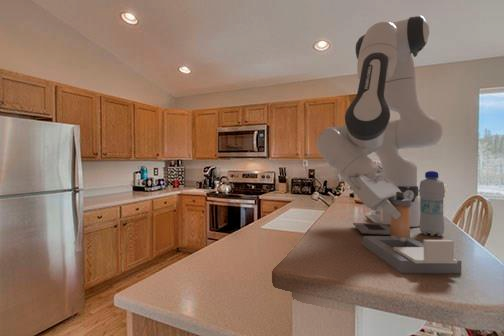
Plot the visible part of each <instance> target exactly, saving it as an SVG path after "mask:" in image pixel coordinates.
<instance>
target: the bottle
mask: <svg viewBox="0 0 504 336" xmlns="http://www.w3.org/2000/svg"><path fill="white" fill-rule="evenodd" d="M424 177H425V179H423V180H420V182H419V183H420V184H419V187H418V190H419V192H418V196H419V198H420V226H419V230H420V231H419V232H420V233H421V234H423V235H425V236H428V235H429V234H430V236H431V237H434V236H435V235H436V237H440V236H443V234H444V232H445V222H444V221H445V219H444V198H445V197H446V195H445V193H446V191H445V183H444V181H442V180H440V179H439V173H438V171H433V170H428V171H426V172H425V173H424Z"/></svg>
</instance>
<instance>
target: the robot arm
mask: <svg viewBox="0 0 504 336" xmlns="http://www.w3.org/2000/svg"><path fill="white" fill-rule="evenodd" d="M429 36H430V26H429V23H428V21H427V20H426V18H425V17H424V16H422V15H415V16H410V17H408V18H407V19H401V20H398V21H395V22H389V21H380V22H379V21H378V22H376V23H374V24H373V25H371V26H370V27H369V28H368V29H367V30H366V32H365V34H364V35H362V36H360V37H359V38H358V40H357V41H356V44H355V57H356V59H357V62H356V63H357V69H356V70H357V71H356V72H357V78H358V80H359V83H358V87H357V88H358V89H357V92H356V95H355V97H354V99H353V101H352V102H351V103H350V104H349V106H348V107H347V109H346V111H345V114H344V122H345V123H344V125H340V126H328V127H326V128H325V129H324V130H322V132H321V133H320V134H319V135H318V137H317V140H316V149H317V151H318V153H319V155H320V156H321V158H323V159H324V160H325V162H326V163H327V164H328V165H329V166H330V167H331V168H332V169H335V170H336V172H337V173H338V175H339V177H340V178H341V179H342V180H343V181H344V182H345V183H346V184H347V185H348V186H349V187H350V189H351V190H352V193H354V194H355V196H357V198H358V199H359V200H360V202H362V204H363V205H364V206H365V207H367V208H368V209H370V210H371V212H368V213H366V214H365V216H366V217H367V219H369V220H370V221H372V223H374V224H386V225H387V226H390V214H391V215H392V216H393V217H394V218H395V219H398V218H399V217H400V216H402V212H400V210H399V209H398V208H397V209H396V208H395V207H394V206H393V205H392V204H391V202H390V201H389V199H390V198H396V192H404V199H409V200H412V205H411V206H410V228H411V227H412V228H415V227H420V200H419V198H418V196H419V186H418V166H417V164H416V163H415V162H414V161H412V160H411V159H408V158H406V157H404V156H401V155H400V153H399V150H401V149H402V150H404V149H407V150H408V149H422V148H425V147H427V148H428V147H430V146H431V147H432V146H435V145H436V144H438V142H439V141H441V138H442V136H443V127H442V124H441V123H440V121H439V120H438V119H436V118H435V117H433V116H431V115H430V114H428V113H427V112H425V110H424V109H423V108H422V107H421V105H420V104H419V100H418V96H417V86H416V67H415V62H414V59H413V57H414V58H416V57H417V56H418V54H419V52H421V51H422V50H423V49H424V47H426V45H427V43H428V40H429ZM390 111H391V112H396V113H398V115H399V117H400V119H393V120H390V119H391V118H390V117H391V112H390ZM372 153H374V154H376V156H377V157H378V159H379V161H380V164H381V166H380V165H378V164H376V163H375V162H374V161H373V160H372V159H371V158H370V157H369V155H370V154H372Z"/></svg>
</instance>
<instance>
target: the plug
mask: <svg viewBox="0 0 504 336" xmlns="http://www.w3.org/2000/svg"><path fill="white" fill-rule="evenodd" d="M389 201H390V202H391V204H392V205H393V206H394V207H395V208H396V209H397V208H398V209H399V210H400V212H402V216H400V217H399V218H398V219H395V218H394V217H393V216H392V215H391V214H390V225H389V227H390V235H391V238H392V239H397V237H400V241H406V238H407V237H410V238H411V227H410V206H411V205H412V200H409V199H404V192H396V198H390V199H389Z"/></svg>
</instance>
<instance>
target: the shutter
mask: <svg viewBox="0 0 504 336" xmlns="http://www.w3.org/2000/svg"><path fill="white" fill-rule="evenodd" d="M423 244H424V247H394V250H395V251H396V252H398V253H400V254H401V255H403V256H405V257H406V258H408V259H410V260H411V261H413V262H415V263H457V260H456V259H457V258H456V259H454V258H455V256H454V255H455V254H454V253H455V252H454V251H455V250H454V247H455V246H454V245H455V244H454V240H451V239H423Z"/></svg>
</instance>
